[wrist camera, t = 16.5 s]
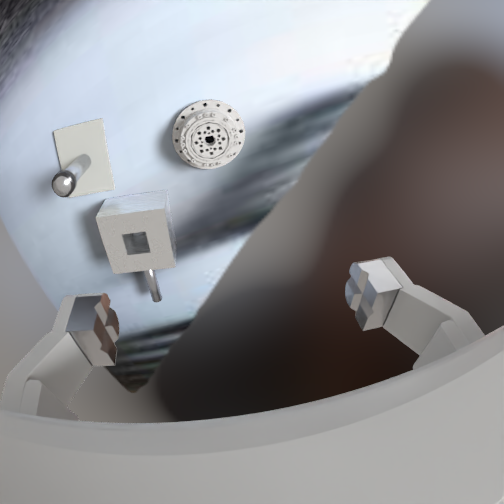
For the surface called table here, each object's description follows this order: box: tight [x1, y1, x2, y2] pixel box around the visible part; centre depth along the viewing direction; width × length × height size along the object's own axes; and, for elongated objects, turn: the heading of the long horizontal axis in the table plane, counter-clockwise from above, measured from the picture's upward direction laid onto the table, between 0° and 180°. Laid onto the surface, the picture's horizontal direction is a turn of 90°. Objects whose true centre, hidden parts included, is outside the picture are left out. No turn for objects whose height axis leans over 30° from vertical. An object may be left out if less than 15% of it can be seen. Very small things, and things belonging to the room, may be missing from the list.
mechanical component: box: [172, 99, 245, 169], centre depth 37 cm, size 10×4×10 cm
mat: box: [54, 118, 115, 198], centre depth 36 cm, size 11×8×1 cm
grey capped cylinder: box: [52, 154, 91, 197], centre depth 32 cm, size 3×3×9 cm
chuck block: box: [96, 190, 177, 302], centre depth 45 cm, size 19×10×6 cm, turn 0°
